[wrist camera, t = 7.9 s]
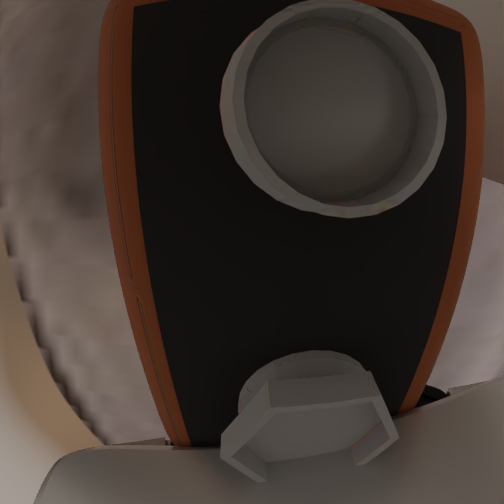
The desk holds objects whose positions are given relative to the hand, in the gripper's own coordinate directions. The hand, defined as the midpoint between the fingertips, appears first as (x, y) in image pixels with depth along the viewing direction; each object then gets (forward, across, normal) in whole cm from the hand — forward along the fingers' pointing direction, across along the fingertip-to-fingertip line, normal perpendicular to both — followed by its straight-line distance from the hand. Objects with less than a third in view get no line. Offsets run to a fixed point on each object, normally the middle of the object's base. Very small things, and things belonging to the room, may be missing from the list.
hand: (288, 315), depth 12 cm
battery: (+2, 0, -5) cm, 6 cm away
